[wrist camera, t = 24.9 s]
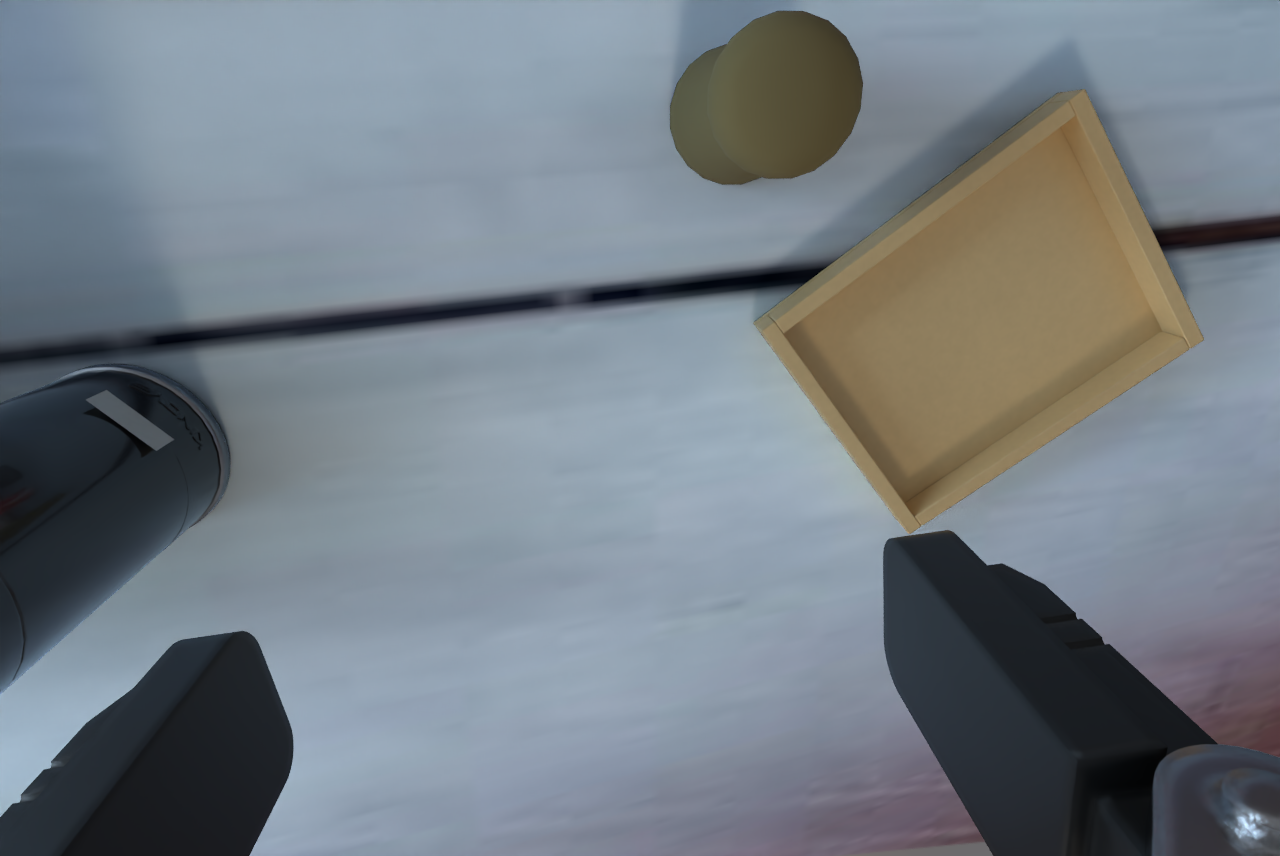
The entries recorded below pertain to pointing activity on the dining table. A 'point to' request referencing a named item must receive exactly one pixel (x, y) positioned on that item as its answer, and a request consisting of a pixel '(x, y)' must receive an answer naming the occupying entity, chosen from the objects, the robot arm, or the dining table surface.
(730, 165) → the olive green rounded piece
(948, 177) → the light wooden flat tray
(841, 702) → the dining table surface
